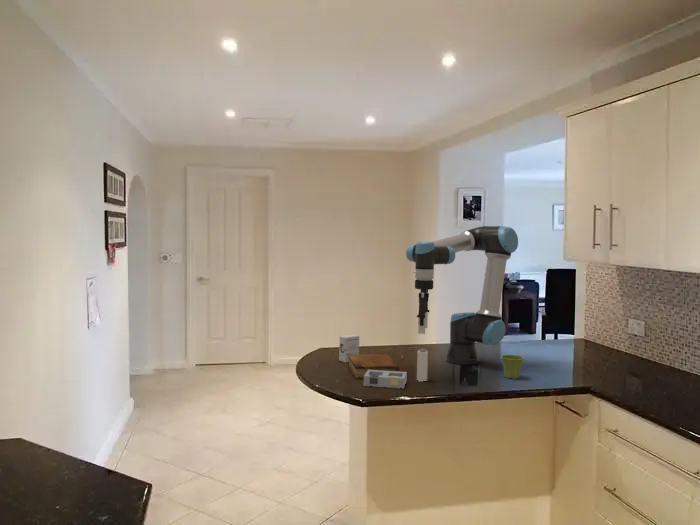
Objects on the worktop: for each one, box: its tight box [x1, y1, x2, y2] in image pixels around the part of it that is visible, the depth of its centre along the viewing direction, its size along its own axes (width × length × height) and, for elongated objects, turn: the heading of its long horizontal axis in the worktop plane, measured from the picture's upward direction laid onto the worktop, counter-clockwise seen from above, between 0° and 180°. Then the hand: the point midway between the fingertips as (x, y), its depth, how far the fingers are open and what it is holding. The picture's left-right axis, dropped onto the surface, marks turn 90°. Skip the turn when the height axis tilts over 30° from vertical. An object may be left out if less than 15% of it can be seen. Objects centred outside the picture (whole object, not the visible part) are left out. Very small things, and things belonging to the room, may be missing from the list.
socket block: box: [363, 370, 408, 390], centre depth 243 cm, size 16×11×4 cm
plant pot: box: [500, 354, 525, 380], centre depth 258 cm, size 9×9×9 cm
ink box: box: [338, 334, 360, 364], centre depth 283 cm, size 9×5×12 cm, turn 129°
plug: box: [416, 348, 429, 382], centre depth 250 cm, size 4×4×13 cm
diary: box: [347, 353, 401, 380], centre depth 263 cm, size 23×19×6 cm
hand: (422, 330), depth 249 cm, fingers open, 13 cm apart
